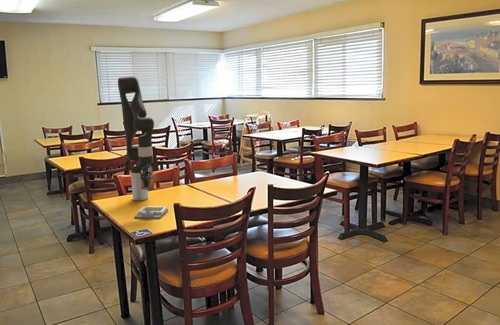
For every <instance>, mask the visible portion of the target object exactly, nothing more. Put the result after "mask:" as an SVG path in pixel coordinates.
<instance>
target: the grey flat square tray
mask: <svg viewBox="0 0 500 325" xmlns="http://www.w3.org/2000/svg"><path fill="white" fill-rule="evenodd" d="M168 211H169V209H168V206H152V205H151V206H149V205H147V206H146V205H145V206H143V207H141V208H140V209H139V210H138V211H137V214H136V215H135V216H134V219H145V220H146V219H148V220H160V219H162V218H163V216H165V215H166V214H167V212H168Z"/></svg>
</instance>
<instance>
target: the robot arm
mask: <svg viewBox="0 0 500 325" xmlns="http://www.w3.org/2000/svg"><path fill="white" fill-rule="evenodd" d="M117 87H118V92H119V98H120V104H121V111H122V120H123V128H124V134H125V145H126V156H127V159H128V161H130V162H138V164H136V165H133V166H131V167H130V178H131V180H130V181H131V190H132V192H131V195H132V200H133V201H139V202H140V201H145V200H147V199H149V190H143V189H141V180H144V187H148V176H149V171H151V172H152V174H150V175H153V176H154V172H153V171H154V165H152V164H153V163H154V153H153V143H152V141H153V140H152V139H153V138H152V136H153V131H154V126H155V121H154V119H153V118H152V117H150V116H148V117H147V110H146V108H145V105H144V102H143V97H142V92H141V87H140V83H139V80H138V78H137V77H136V76H124V77H122V76H121V77H119V78H118V79H117ZM127 94H134V95H133V98H132V100H131V101H129V100H128V98H127ZM130 102H131V103H130ZM138 132H145V134H142V135H139V136H138V137H137V145H133V141H134V138H135V136H136V135H137V133H138ZM146 174H147V175H146ZM140 175H141V177H140ZM144 177H145V178H144Z"/></svg>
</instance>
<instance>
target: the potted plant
mask: <svg viewBox="0 0 500 325" xmlns="http://www.w3.org/2000/svg"><path fill="white" fill-rule="evenodd" d="M150 174H152V172H151V171H149V176H148V187H144V180H141V189H143V190H148V191H155V181H154V179H155V178H154V177H155V176H154V174H153V175H150ZM146 175H147V174H146ZM140 177H141V175H140ZM144 178H145V177H144Z"/></svg>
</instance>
